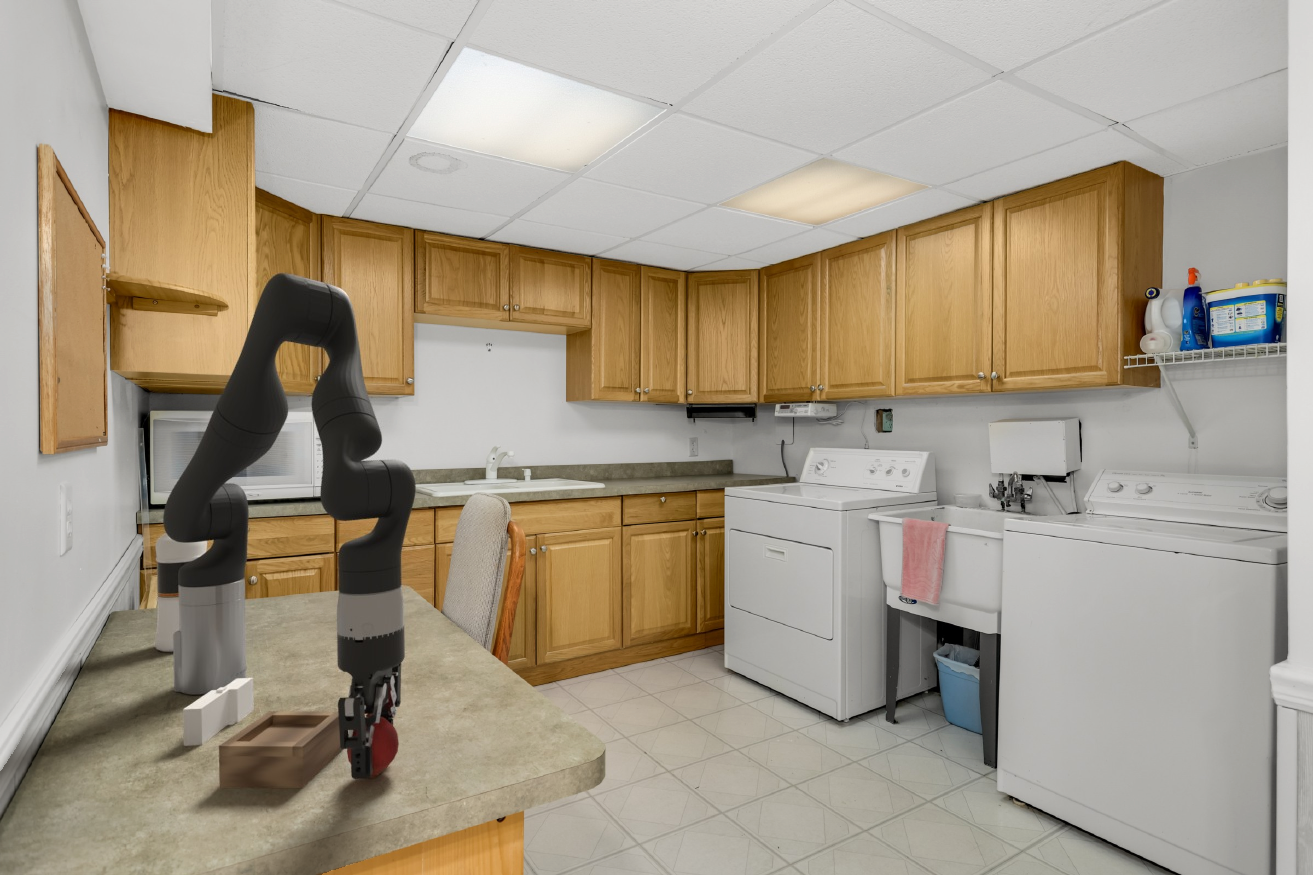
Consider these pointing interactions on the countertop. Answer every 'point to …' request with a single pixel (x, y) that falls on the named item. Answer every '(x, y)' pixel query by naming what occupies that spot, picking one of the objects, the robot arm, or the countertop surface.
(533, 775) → the countertop surface
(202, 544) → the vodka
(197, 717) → the white notched block
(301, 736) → the wooden box
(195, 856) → the countertop surface
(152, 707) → the countertop surface
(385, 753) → the onion
